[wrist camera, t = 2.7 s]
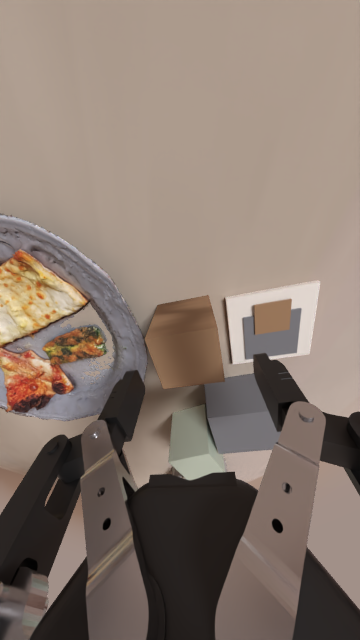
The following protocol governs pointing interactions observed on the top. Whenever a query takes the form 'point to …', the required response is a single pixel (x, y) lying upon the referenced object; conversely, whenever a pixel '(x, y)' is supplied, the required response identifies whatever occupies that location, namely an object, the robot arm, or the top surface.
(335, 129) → the top surface
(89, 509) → the robot arm
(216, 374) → the walnut block
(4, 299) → the food plate
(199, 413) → the sage block
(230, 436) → the charcoal block
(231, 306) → the tile
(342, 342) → the top surface
